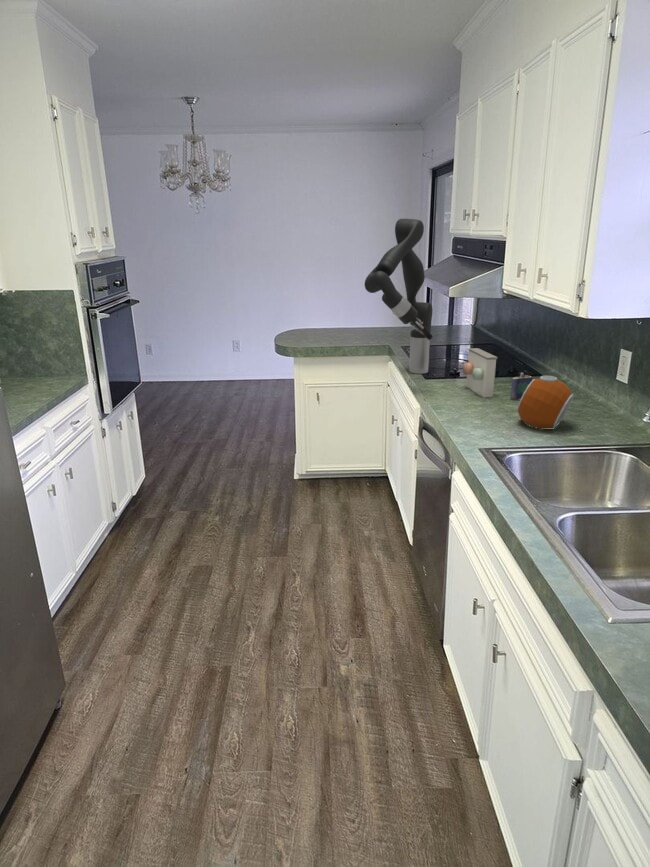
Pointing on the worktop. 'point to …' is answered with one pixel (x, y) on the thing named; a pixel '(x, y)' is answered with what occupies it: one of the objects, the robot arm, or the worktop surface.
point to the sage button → (477, 373)
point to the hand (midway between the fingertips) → (430, 338)
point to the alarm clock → (544, 402)
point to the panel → (488, 366)
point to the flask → (519, 386)
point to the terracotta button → (467, 368)
